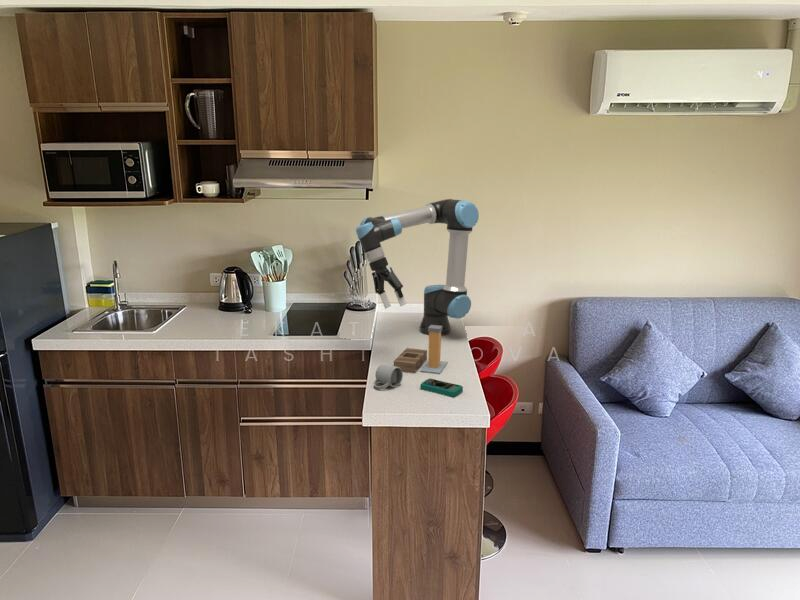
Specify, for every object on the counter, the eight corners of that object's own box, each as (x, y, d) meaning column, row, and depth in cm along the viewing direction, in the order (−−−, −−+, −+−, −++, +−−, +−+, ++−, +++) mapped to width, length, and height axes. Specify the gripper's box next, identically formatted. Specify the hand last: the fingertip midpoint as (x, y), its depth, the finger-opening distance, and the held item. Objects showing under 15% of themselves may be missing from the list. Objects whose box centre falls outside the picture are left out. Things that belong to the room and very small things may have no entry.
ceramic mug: (386, 379, 232) (386, 360, 230) (403, 384, 227) (403, 365, 225) (368, 387, 223) (368, 368, 221) (385, 392, 219) (385, 373, 217)
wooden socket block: (406, 356, 258) (406, 347, 257) (426, 359, 255) (427, 350, 254) (393, 370, 241) (393, 361, 240) (415, 373, 238) (415, 363, 237)
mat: (429, 360, 253) (429, 359, 253) (447, 363, 250) (447, 361, 250) (420, 371, 240) (420, 370, 240) (439, 374, 238) (439, 372, 237)
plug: (429, 363, 248) (430, 324, 244) (441, 364, 247) (442, 325, 243) (426, 367, 244) (427, 327, 240) (438, 368, 242) (439, 329, 238)
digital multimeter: (428, 384, 229) (428, 376, 228) (463, 392, 221) (463, 384, 220) (418, 390, 223) (418, 382, 222) (454, 398, 215) (454, 391, 214)
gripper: (356, 266, 259) (375, 311, 262) (383, 258, 237) (403, 307, 240) (370, 260, 263) (388, 304, 265) (398, 251, 241) (417, 300, 243)
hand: (395, 306), depth 253 cm, fingers open, 13 cm apart
